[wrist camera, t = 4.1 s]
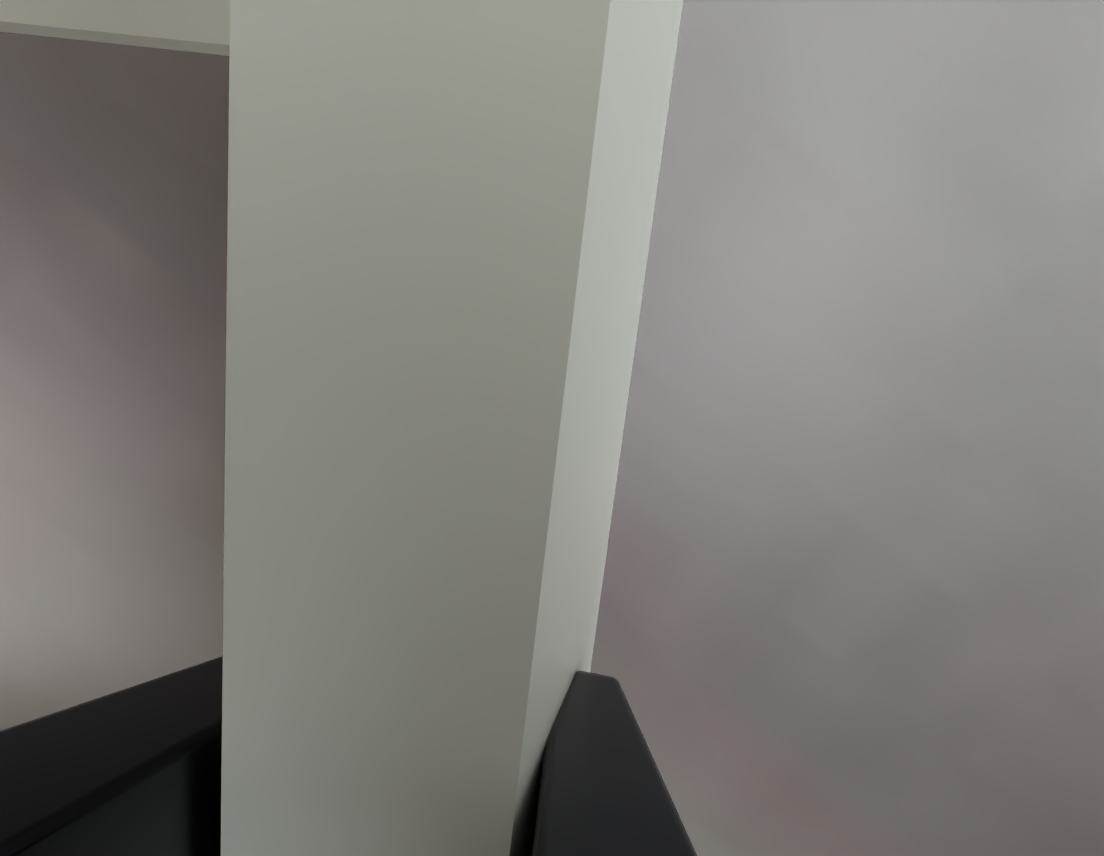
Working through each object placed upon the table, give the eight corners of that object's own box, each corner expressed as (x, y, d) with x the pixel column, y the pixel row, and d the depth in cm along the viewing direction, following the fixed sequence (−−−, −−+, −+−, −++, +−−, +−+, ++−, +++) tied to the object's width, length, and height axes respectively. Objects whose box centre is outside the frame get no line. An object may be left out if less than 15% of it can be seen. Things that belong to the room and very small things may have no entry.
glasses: (686, -20, 8) (630, -184, 4) (530, 1103, 12) (428, 1543, 8) (-281, -102, 10) (-938, -273, 6) (-150, 912, 13) (-502, 1204, 10)
